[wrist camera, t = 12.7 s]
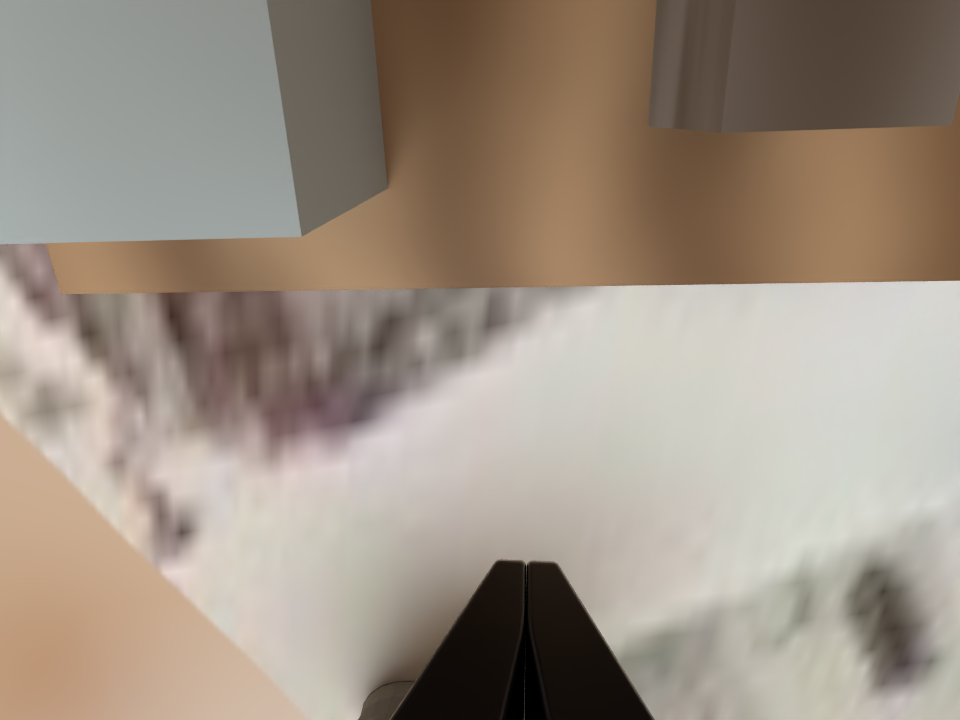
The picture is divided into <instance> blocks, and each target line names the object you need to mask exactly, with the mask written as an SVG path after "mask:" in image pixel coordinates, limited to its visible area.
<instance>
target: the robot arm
mask: <svg viewBox="0 0 960 720" xmlns="http://www.w3.org/2000/svg"><path fill="white" fill-rule="evenodd" d="M525 636H526V638H525ZM524 692H525V715H524ZM524 717H525V720H655V719H654V718H653V716H652V715H651V713H650V711H649V710H648V708H647V707H646V705H645V703H644V702H643V700H642V699H641V697H640V695H639V694H638V692H637V690H636V689H635V687H634V686H633V684H632V682H631V681H630V679H629V678H628V676H627V674H626V673H625V671H624V670H623V668H622V666H621V665H620V663H619V662H618V660H617V658H616V657H615V655H614V653H613V652H612V650H611V649H610V647H609V645H608V644H607V642H606V641H605V639H604V637H603V636H602V634H601V633H600V631H599V629H598V628H597V626H596V625H595V623H594V621H593V620H592V618H591V616H590V615H589V613H588V612H587V610H586V608H585V607H584V605H583V604H582V602H581V600H580V599H579V597H578V596H577V594H576V592H575V591H574V589H573V588H572V586H571V584H570V583H569V581H568V580H567V578H566V576H565V575H564V573H563V571H562V570H561V568H560V567H559V565H558V564H557V563H555V562H550V561H530V562H528V564H527V575H526V563H525V562H524V561H522V560H503V559H500V560H497V561H496V562H495V563H494V564H493V566H492V567H491V569H490V570H489V572H488V573H487V575H486V576H485V578H484V579H483V581H482V582H481V584H480V585H479V587H478V588H477V590H476V591H475V593H474V594H473V596H472V597H471V599H470V600H469V602H468V603H467V605H466V606H465V608H464V609H463V611H462V612H461V614H460V615H459V617H458V618H457V620H456V621H455V623H454V624H453V626H452V627H451V629H450V630H449V632H448V633H447V635H446V636H445V637H444V639H443V640H442V642H441V643H440V645H439V646H438V648H437V649H436V651H435V652H434V654H433V655H432V657H431V658H430V660H429V661H428V663H427V664H426V666H425V667H424V669H423V670H422V672H421V673H420V675H419V676H418V678H417V679H416V681H415V682H414V684H413V685H412V687H411V688H410V690H409V691H408V693H407V694H406V696H405V697H404V699H403V700H402V702H401V703H400V705H399V706H398V708H397V709H396V711H395V712H394V714H393V715H392V717H391V718H390V720H524Z"/></svg>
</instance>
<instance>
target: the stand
mask: <svg viewBox="0 0 960 720" xmlns="http://www.w3.org/2000/svg"><path fill="white" fill-rule="evenodd" d="M371 9H372V20H373V31H374V42H375V53H376V64H377V75H378V86H379V97H380V108H381V119H382V130H383V141H384V152H385V163H386V174H387V186H388V189H386V190H384V191H383V192H381V193H379V194H377V195H375V196H374V197H372V198H370V199H368V200H367V201H365V202H363V203H361V204H359V205H358V206H356V207H354V208H352V209H350V210H349V211H347V212H345V213H343V214H342V215H340V216H338V217H336V218H334V219H333V220H331V221H329V222H327V223H325V224H324V225H322V226H320V227H318V228H316V229H315V230H313V231H311V232H309V233H308V234H306V235H304V236H302V237H274V238H233V239H192V240H152V241H111V242H70V243H46V246H47V249H48V252H49V256H50V259H51V262H52V265H53V269H54V272H55V275H56V278H57V282H58V285H59V288H60V291H61V294H95V293H162V292H228V291H294V290H361V289H427V288H494V287H560V286H627V285H693V284H759V283H826V282H892V281H959V280H960V0H371Z"/></svg>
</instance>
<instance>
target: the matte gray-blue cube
mask: <svg viewBox="0 0 960 720" xmlns="http://www.w3.org/2000/svg"><path fill="white" fill-rule="evenodd" d="M386 189H388V186H387V174H386V163H385V152H384V141H383V130H382V119H381V108H380V97H379V86H378V75H377V64H376V53H375V42H374V31H373V20H372V9H371V0H0V244H30V243H70V242H111V241H152V240H192V239H233V238H274V237H302V236H304V235H306V234H308V233H309V232H311V231H313V230H315V229H316V228H318V227H320V226H322V225H324V224H325V223H327V222H329V221H331V220H333V219H334V218H336V217H338V216H340V215H342V214H343V213H345V212H347V211H349V210H350V209H352V208H354V207H356V206H358V205H359V204H361V203H363V202H365V201H367V200H368V199H370V198H372V197H374V196H375V195H377V194H379V193H381V192H383V191H384V190H386Z"/></svg>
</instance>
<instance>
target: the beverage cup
mask: <svg viewBox="0 0 960 720" xmlns="http://www.w3.org/2000/svg"><path fill="white" fill-rule="evenodd" d="M413 684H414V682H395V683H391V684H388V685H385V686H382V687H380V688H378V689H377V690H376V691H374V692H373V693H371V694H370V695H369V697H368V698H367V700H366V701H365V703H364V705H363V709H362V713H361V716H360V718H359V719H358V720H390V718H391V717H392V715H393V714H394V712H395V711H396V709H397V708H398V706H399V705H400V703H401V702H402V700H403V699H404V697H405V696H406V694H407V693H408V691H409V690H410V688H411V687H412V685H413Z"/></svg>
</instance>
